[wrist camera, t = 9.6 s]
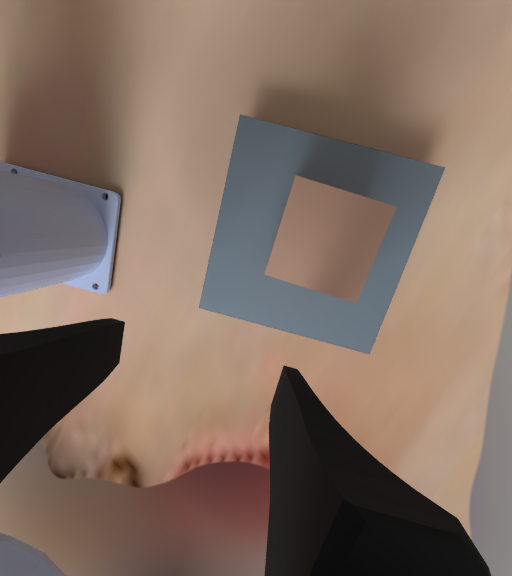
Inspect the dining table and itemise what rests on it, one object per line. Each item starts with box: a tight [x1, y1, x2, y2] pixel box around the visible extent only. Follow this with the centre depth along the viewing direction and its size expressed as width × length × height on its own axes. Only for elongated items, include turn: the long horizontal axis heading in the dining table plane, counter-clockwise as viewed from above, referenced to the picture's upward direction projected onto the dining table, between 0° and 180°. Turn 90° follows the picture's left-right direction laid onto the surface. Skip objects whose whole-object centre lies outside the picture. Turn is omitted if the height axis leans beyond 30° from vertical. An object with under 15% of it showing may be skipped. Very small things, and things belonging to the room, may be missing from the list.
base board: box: [199, 115, 445, 354], centre depth 17 cm, size 12×12×3 cm
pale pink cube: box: [264, 175, 396, 303], centre depth 13 cm, size 4×4×4 cm
